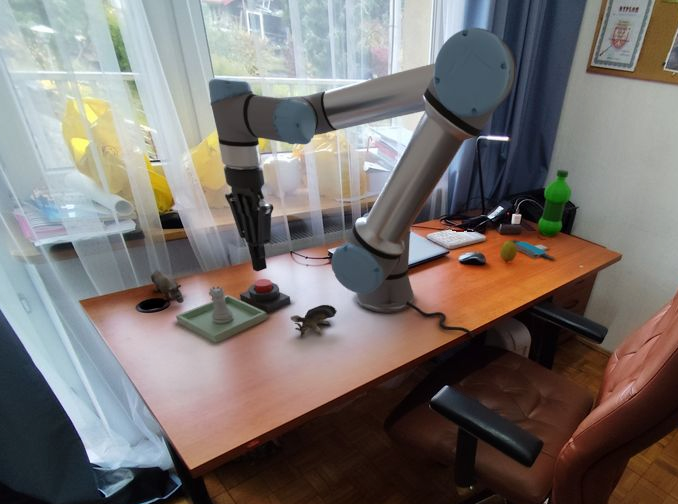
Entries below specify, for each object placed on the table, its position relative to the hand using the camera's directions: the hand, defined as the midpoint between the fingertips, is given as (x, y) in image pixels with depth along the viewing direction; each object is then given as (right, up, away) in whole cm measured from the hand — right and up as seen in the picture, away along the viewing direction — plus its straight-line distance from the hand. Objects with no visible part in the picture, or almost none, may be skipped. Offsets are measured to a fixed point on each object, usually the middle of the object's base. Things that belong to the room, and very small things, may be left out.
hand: (260, 268), depth 101 cm
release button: (0, -5, +3) cm, 6 cm away
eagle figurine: (+14, -15, -3) cm, 21 cm away
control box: (-1, -8, +5) cm, 9 cm away
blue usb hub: (+78, +18, +57) cm, 98 cm away
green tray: (-7, -13, -4) cm, 15 cm away
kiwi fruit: (+66, +10, +44) cm, 80 cm away
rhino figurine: (-23, -7, +2) cm, 24 cm away
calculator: (+49, +22, +58) cm, 79 cm away
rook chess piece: (-7, -13, -4) cm, 15 cm away
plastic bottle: (+88, +29, +75) cm, 119 cm away
